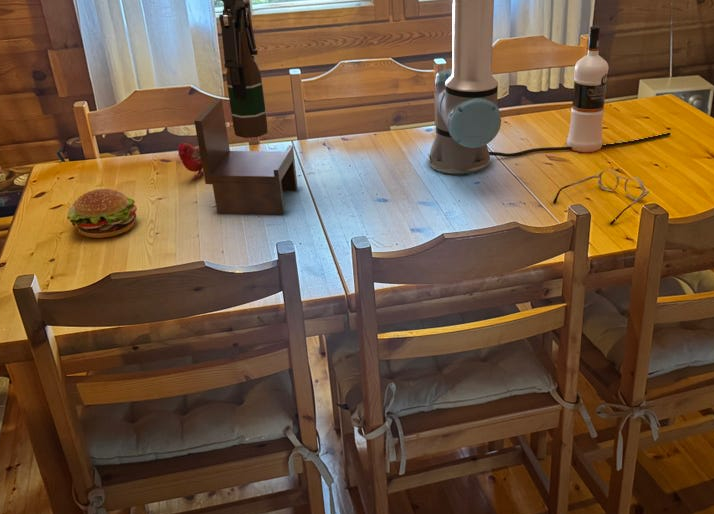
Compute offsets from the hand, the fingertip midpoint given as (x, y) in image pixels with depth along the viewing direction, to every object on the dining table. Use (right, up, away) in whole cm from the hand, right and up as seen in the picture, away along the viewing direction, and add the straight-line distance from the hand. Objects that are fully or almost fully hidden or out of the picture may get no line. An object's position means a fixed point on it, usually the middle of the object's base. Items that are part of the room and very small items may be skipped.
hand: (246, 92), depth 174 cm
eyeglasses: (+78, -22, +9) cm, 81 cm away
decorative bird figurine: (-17, -12, +28) cm, 34 cm away
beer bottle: (0, -7, +5) cm, 9 cm away
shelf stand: (0, -21, +13) cm, 24 cm away
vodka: (+79, -2, +39) cm, 89 cm away
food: (-31, -29, +3) cm, 42 cm away
